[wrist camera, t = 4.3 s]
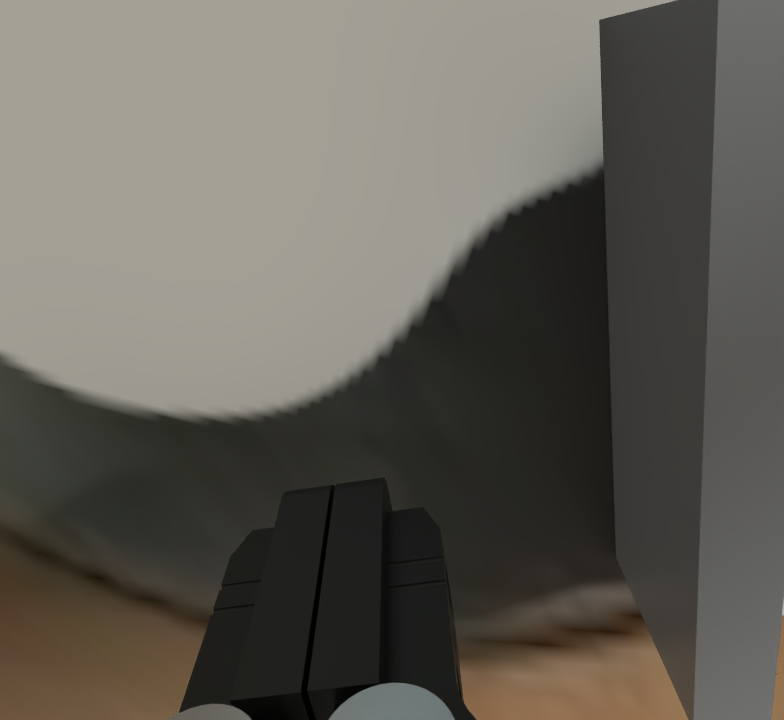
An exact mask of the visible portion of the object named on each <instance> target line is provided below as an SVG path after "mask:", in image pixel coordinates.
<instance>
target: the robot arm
mask: <svg viewBox="0 0 784 720" xmlns="http://www.w3.org/2000/svg"><path fill="white" fill-rule="evenodd" d="M221 585H222V590H220V591H219V593H218V596H217V600H216V603H215V606H214V615H211V618H210V621H209V624H208V627H207V630H206V633H205V636H204V639H203V642H202V645H201V648H200V651H199V654H198V657H197V660H196V663H195V666H194V669H193V672H192V675H191V678H190V681H189V684H188V687H187V690H186V693H185V696H184V699H183V702H182V705H181V708H180V711H179V713H178V714H176V715H175V716H173V717H171V718H169V719H168V720H476V719H475V718H474V716H473V715H472V714H471V713H470V712H469V711H468V709H467V707H466V706H465V704H464V700H463V692H462V683H461V674H460V667H459V657H458V648H457V641H456V631H455V622H454V614H453V606H452V600H451V594H450V588H449V582H448V575H447V569H446V563H445V557H444V551H443V545H442V539H441V533H440V528H439V527H438V526H437V524H436V523H435V522H434V521H433V519H432V518H431V517H430V515H429V514H428V513H427V512H426V510H425V509H424V508H423V507H422V508H414V509H407V510H399V511H392V507H391V501H390V496H389V491H388V487H387V483H386V480H385V478H379V479H372V480H364V481H357V482H350V483H343V484H337V485H336V486H334V485H329V486H322V487H315V488H307V489H300V490H293V491H286V492H284V494H283V496H282V500H281V504H280V508H279V512H278V515H277V519H276V523H275V527H274V528H266V529H259V530H252V532H251V533H250V534H249V535H248V536H247V538H246V539H245V540H244V541H243V542H242V544H241V545H240V546H239V547H238V548H237V550H236V551H235V552H234V553H233V554H232V555H231V557H230V560H229V563H228V566H227V569H226V572H225V575H224V578H223V581H222V584H221Z"/></svg>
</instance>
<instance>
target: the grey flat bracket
mask: <svg viewBox="0 0 784 720" xmlns="http://www.w3.org/2000/svg"><path fill="white" fill-rule="evenodd" d="M599 24H600V56H601V88H602V121H603V155H604V187H605V220H606V253H607V285H608V318H609V351H610V383H611V416H612V448H613V481H614V514H615V546H616V559H617V561H618V563H619V566H620V568H621V570H622V572H623V575H624V577H625V579H626V581H627V583H628V586H629V588H630V590H631V592H632V595H633V597H634V599H635V601H636V603H637V606H638V608H639V610H640V612H641V615H642V617H643V619H644V621H645V623H646V626H647V628H648V630H649V632H650V634H651V637H652V639H653V641H654V643H655V646H656V648H657V650H658V652H659V654H660V657H661V659H662V661H663V663H664V666H665V668H666V670H667V672H668V674H669V677H670V679H671V681H672V683H673V686H674V688H675V690H676V692H677V694H678V697H679V699H680V701H681V703H682V706H683V708H684V710H685V712H686V714H687V717H688V719H689V720H771V716H772V706H773V696H774V687H775V677H776V668H777V658H778V648H779V639H780V629H781V619H782V615H784V0H677V1H673V2H669V3H665V4H661V5H658V6H653V7H649V8H645V9H641V10H637V11H633V12H629V13H625V14H621V15H617V16H614V17H609V18H606V19H601V20H600V21H599Z"/></svg>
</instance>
